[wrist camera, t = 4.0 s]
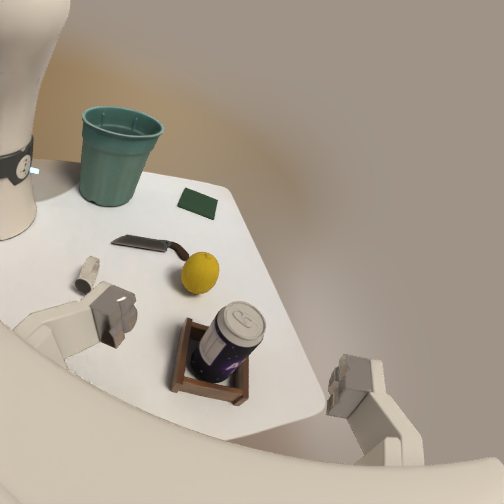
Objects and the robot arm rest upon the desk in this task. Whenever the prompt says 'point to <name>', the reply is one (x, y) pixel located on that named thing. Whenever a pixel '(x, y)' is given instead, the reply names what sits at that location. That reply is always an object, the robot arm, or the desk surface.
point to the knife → (151, 244)
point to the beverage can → (228, 341)
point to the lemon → (200, 273)
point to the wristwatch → (87, 275)
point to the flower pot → (115, 152)
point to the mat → (198, 203)
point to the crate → (200, 387)
